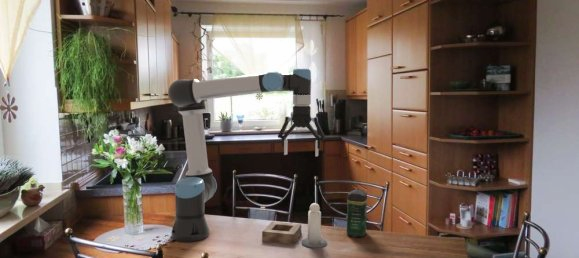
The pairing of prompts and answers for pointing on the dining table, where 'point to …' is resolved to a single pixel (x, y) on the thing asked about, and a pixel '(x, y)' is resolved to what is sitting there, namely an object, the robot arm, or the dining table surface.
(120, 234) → the dining table surface
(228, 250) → the dining table surface
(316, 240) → the pepper mill
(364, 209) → the coffee jar
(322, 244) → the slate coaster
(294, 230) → the walnut holder
